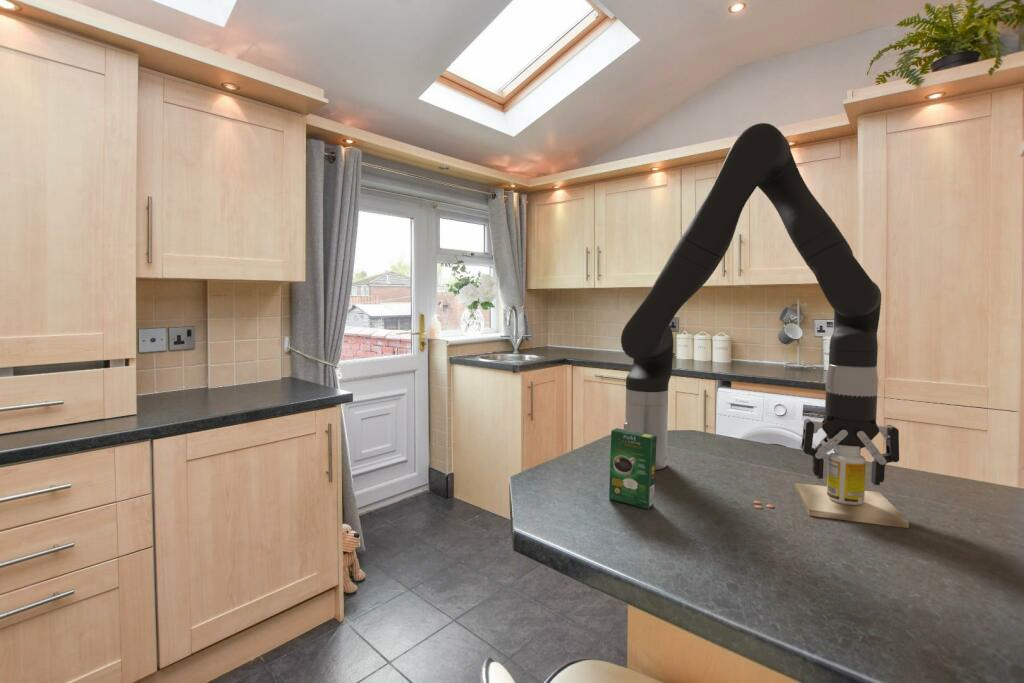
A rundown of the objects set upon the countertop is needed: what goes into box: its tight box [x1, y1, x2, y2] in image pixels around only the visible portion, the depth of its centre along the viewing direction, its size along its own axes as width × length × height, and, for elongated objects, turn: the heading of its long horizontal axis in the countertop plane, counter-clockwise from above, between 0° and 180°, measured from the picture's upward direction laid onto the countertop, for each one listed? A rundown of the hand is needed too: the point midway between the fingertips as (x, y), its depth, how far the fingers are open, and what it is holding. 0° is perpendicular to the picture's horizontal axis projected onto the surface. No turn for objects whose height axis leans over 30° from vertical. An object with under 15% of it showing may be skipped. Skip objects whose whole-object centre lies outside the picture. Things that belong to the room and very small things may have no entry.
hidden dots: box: [752, 500, 776, 510], centre depth 89 cm, size 3×4×1 cm
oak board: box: [794, 482, 910, 529], centre depth 89 cm, size 14×14×1 cm
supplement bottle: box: [826, 445, 867, 505], centre depth 89 cm, size 6×6×10 cm
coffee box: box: [608, 427, 657, 510], centre depth 90 cm, size 8×3×13 cm, turn 52°
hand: (847, 480), depth 89 cm, fingers open, 8 cm apart
